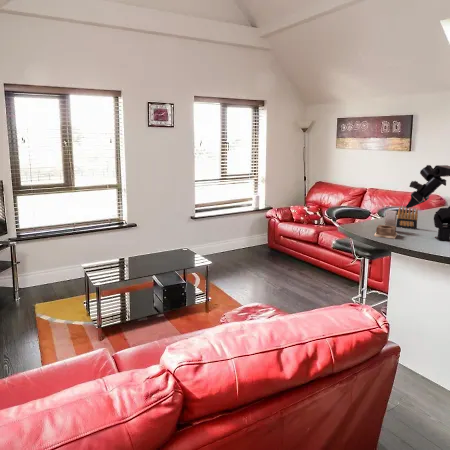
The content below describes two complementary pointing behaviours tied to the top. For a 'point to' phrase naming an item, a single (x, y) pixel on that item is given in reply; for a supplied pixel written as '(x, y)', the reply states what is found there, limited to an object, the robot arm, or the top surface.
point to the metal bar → (390, 218)
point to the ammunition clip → (407, 218)
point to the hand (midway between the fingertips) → (408, 207)
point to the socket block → (386, 231)
